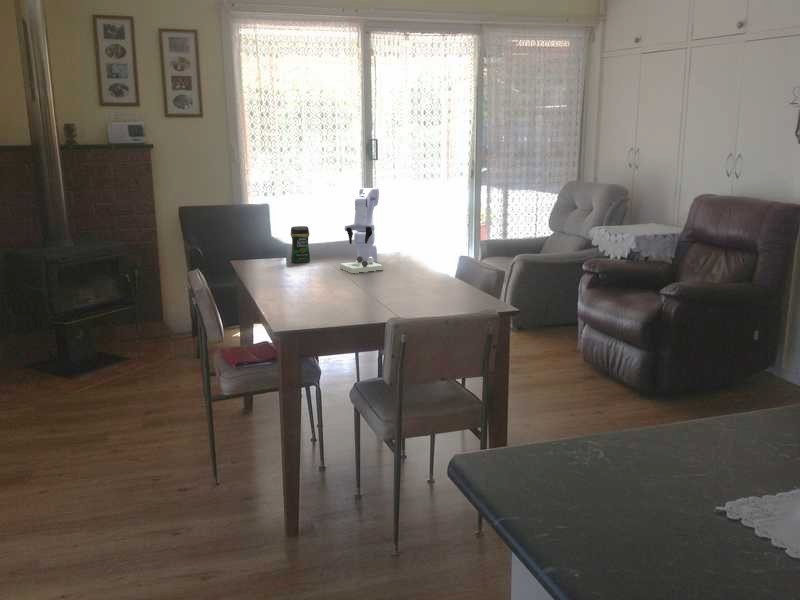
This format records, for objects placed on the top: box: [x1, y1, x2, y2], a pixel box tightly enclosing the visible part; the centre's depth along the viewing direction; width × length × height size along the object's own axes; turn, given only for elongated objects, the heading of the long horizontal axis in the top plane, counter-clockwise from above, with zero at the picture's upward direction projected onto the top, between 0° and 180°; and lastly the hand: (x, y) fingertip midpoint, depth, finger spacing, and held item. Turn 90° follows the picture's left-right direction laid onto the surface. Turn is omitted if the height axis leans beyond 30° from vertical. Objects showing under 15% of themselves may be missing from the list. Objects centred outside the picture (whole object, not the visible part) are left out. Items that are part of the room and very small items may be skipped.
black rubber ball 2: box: [362, 260, 368, 267], centre depth 348 cm, size 3×3×3 cm
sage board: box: [339, 261, 384, 274], centre depth 354 cm, size 16×15×2 cm
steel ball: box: [367, 257, 374, 264], centre depth 356 cm, size 3×3×3 cm
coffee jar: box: [290, 225, 311, 264], centre depth 374 cm, size 10×8×19 cm
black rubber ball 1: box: [356, 255, 363, 262], centre depth 359 cm, size 3×3×3 cm
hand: (358, 242), depth 351 cm, fingers open, 7 cm apart
